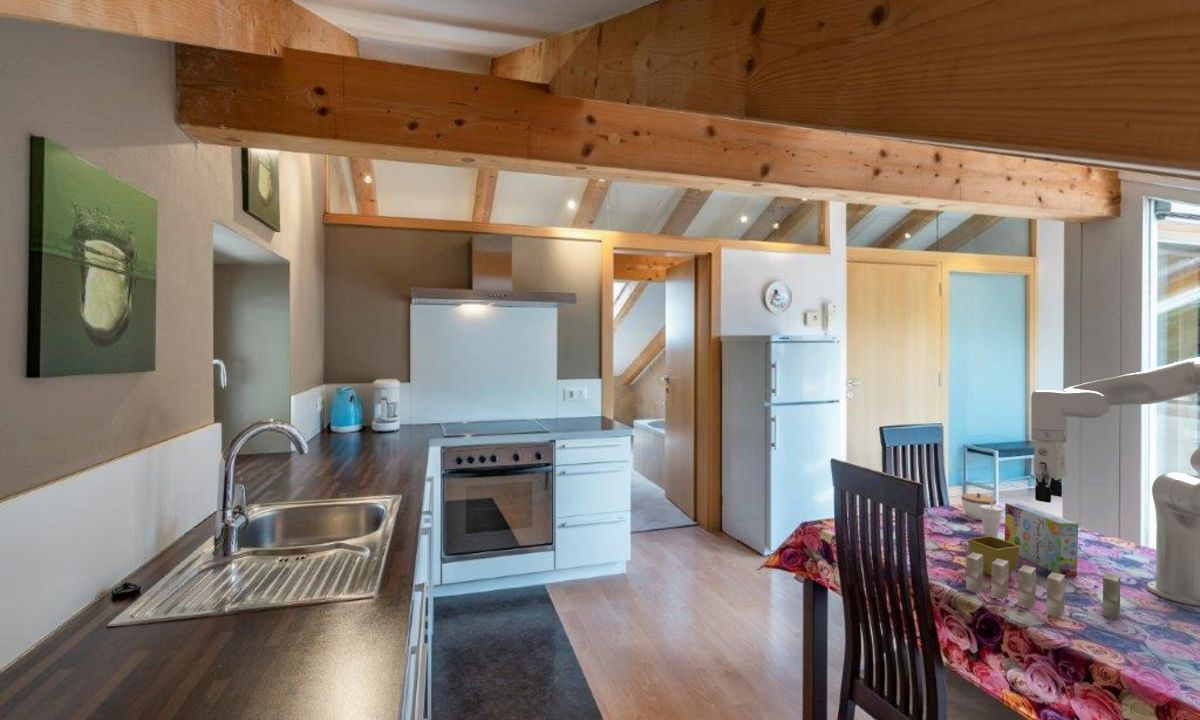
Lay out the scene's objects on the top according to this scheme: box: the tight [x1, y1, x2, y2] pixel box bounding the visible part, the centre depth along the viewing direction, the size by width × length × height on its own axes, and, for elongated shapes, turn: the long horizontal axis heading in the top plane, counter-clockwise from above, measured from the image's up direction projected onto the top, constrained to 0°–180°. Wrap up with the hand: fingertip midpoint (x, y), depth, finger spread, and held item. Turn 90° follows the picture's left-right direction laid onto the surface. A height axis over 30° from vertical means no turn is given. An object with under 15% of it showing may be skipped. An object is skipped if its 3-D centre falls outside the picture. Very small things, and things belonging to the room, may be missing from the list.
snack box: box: [1004, 502, 1079, 577], centre depth 158 cm, size 21×6×15 cm, turn 179°
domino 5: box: [1102, 572, 1121, 620], centre depth 126 cm, size 2×5×9 cm, turn 129°
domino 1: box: [965, 552, 984, 592], centre depth 139 cm, size 2×5×9 cm, turn 129°
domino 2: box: [990, 558, 1010, 600], centre depth 135 cm, size 2×5×9 cm, turn 129°
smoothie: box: [980, 494, 1003, 538], centre depth 181 cm, size 6×6×14 cm
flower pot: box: [967, 535, 1020, 577], centre depth 149 cm, size 9×9×9 cm
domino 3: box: [1017, 564, 1037, 610], centre depth 131 cm, size 2×5×9 cm, turn 129°
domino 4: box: [1046, 572, 1066, 619], centre depth 127 cm, size 2×5×9 cm, turn 129°
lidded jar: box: [961, 492, 997, 521], centre depth 200 cm, size 11×11×9 cm
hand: (1048, 498), depth 143 cm, fingers open, 9 cm apart
